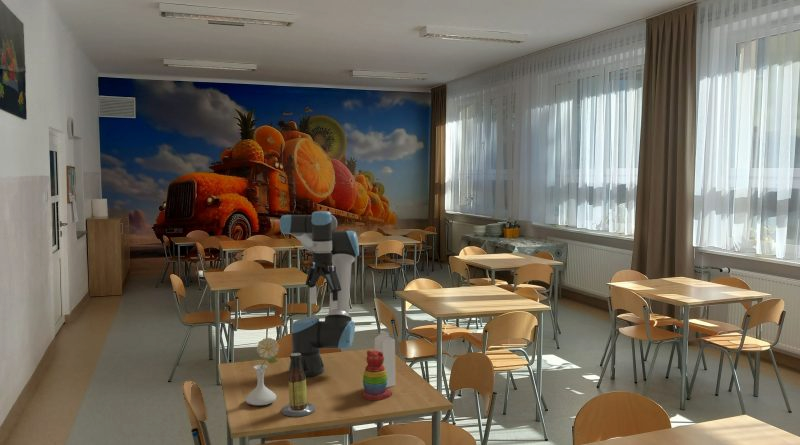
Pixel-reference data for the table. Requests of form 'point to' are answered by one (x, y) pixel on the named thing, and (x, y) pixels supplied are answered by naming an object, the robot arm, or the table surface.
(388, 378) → the milk
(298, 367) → the sauce bottle
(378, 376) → the stacking bear
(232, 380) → the table surface
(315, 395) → the table surface
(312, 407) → the coaster
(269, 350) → the flower in vase
